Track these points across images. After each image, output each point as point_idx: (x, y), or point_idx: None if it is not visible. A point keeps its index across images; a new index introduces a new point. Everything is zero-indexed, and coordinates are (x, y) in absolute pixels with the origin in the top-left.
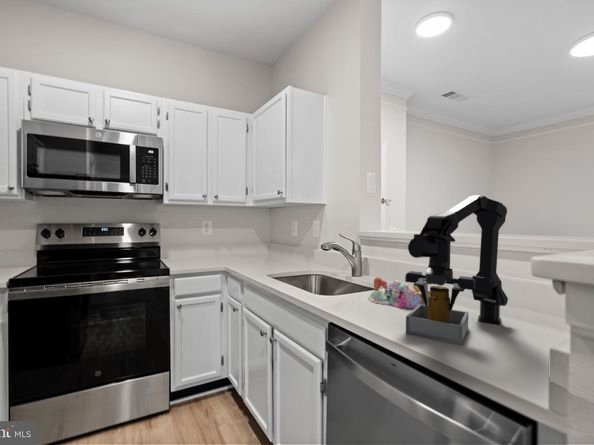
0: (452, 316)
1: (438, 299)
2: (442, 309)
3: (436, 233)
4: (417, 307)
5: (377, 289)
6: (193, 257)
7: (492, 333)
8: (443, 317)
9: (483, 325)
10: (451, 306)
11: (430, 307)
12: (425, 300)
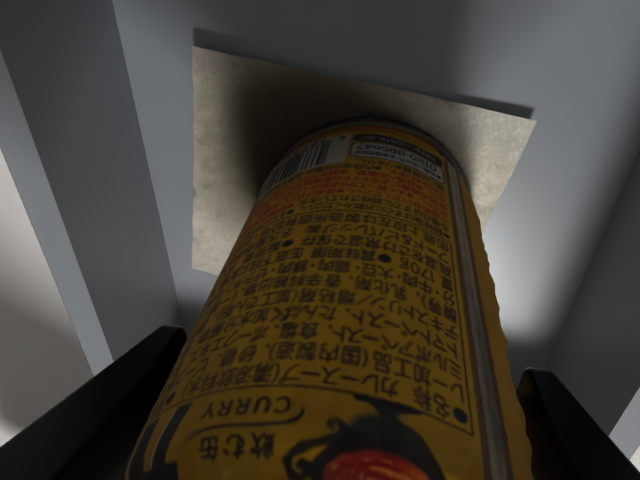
0: None
1: (296, 433)
2: (260, 272)
3: None
4: (622, 438)
5: None
6: None
7: (38, 319)
8: (275, 205)
9: None
10: (126, 367)
11: (473, 310)
12: (596, 461)
